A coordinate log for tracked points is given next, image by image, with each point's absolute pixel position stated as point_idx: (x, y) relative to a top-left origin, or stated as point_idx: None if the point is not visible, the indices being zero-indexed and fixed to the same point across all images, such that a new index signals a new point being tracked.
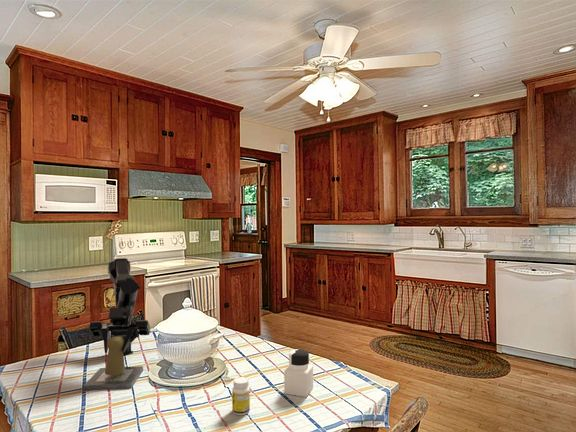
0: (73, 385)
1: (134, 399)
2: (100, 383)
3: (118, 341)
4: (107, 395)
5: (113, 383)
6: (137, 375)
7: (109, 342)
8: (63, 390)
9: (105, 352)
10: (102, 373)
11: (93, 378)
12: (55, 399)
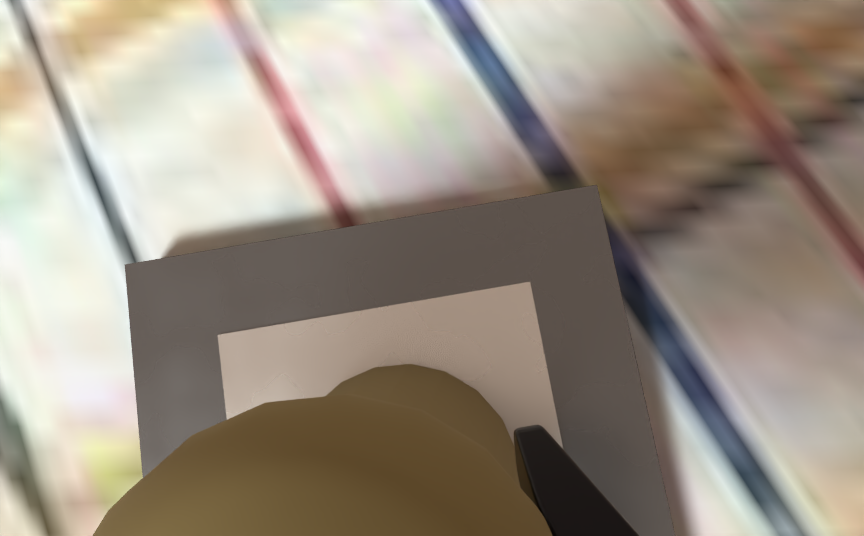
0: (761, 308)
1: (44, 63)
2: (450, 242)
3: (118, 508)
4: (310, 120)
5: (312, 248)
6: None
7: (408, 426)
8: (779, 195)
9: (522, 433)
10: None
11: (602, 366)
12: (720, 28)
